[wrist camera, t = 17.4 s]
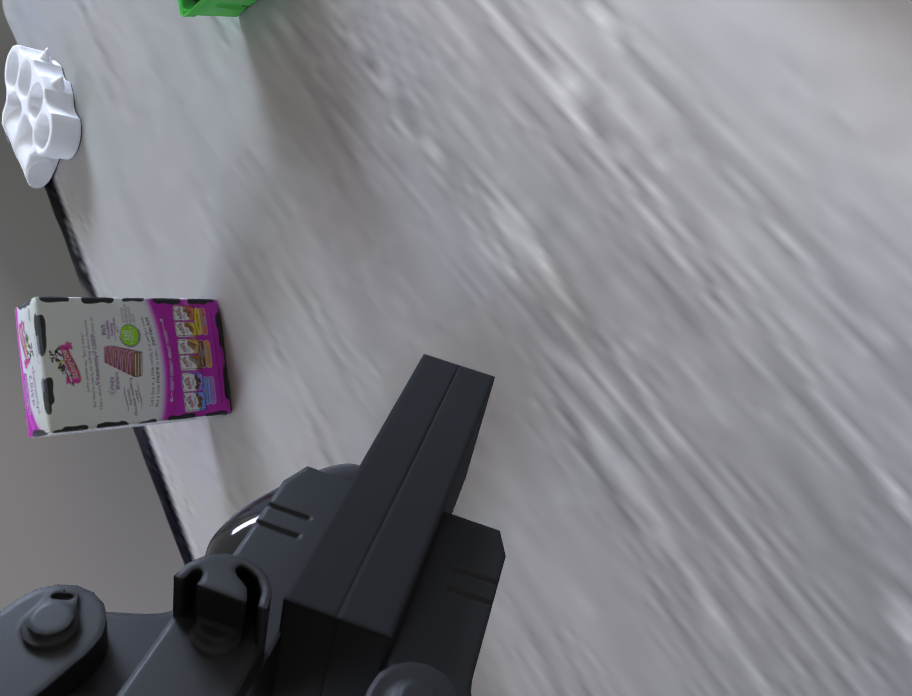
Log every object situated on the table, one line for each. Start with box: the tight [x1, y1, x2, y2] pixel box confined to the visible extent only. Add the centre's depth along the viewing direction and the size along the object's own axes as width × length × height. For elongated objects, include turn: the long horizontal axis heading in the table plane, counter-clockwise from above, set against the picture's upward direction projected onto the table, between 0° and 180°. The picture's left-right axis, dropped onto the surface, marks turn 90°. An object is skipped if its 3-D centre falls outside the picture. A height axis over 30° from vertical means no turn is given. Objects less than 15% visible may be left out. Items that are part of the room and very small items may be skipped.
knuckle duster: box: [2, 45, 81, 188], centre depth 97 cm, size 3×18×15 cm
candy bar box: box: [15, 297, 231, 438], centre depth 69 cm, size 11×5×16 cm, turn 12°
